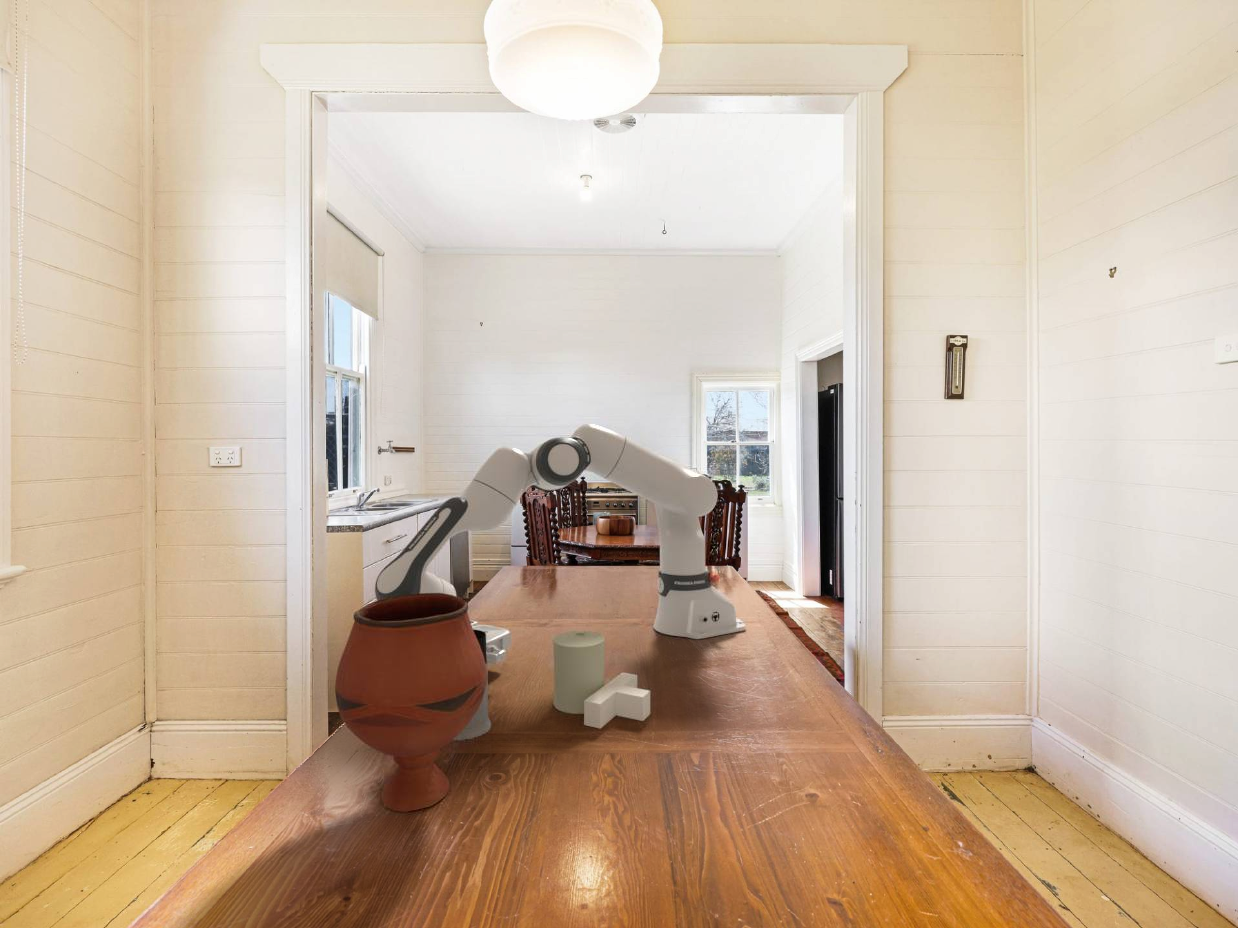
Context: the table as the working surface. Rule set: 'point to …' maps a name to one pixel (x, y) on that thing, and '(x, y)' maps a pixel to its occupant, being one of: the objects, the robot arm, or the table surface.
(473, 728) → the glass holder
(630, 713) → the T stop
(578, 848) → the table surface
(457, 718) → the goblet
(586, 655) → the can
